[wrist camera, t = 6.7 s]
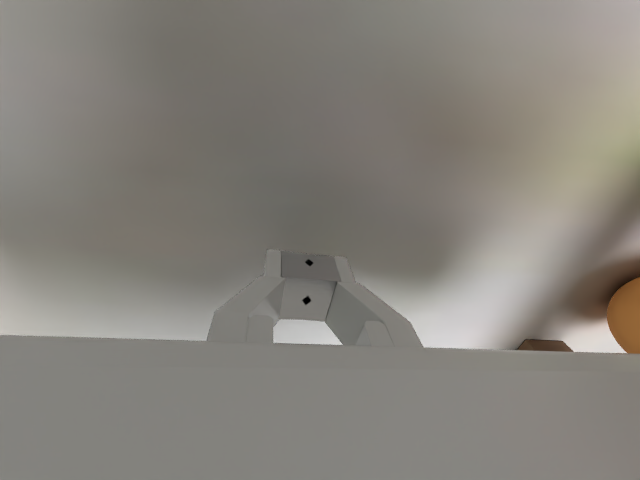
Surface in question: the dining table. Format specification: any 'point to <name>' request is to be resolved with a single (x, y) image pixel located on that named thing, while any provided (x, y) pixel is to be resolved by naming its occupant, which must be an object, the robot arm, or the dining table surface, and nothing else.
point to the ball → (626, 316)
